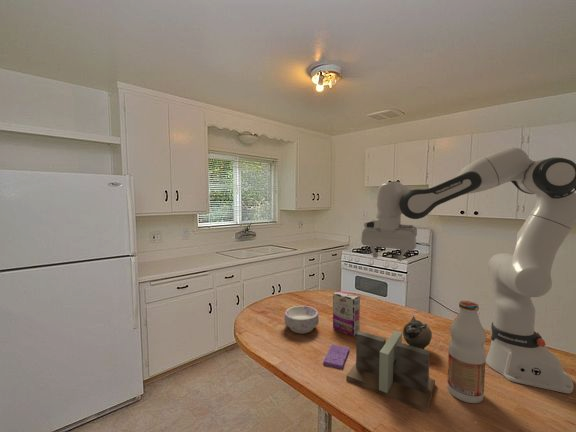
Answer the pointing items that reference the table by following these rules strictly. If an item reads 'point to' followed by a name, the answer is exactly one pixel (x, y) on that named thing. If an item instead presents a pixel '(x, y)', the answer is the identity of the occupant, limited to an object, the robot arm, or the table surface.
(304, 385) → the table surface
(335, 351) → the sponges
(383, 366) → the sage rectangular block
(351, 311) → the candy bar box
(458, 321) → the fruit juice
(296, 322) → the white patterned bowl
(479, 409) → the table surface
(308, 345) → the table surface
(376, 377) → the slotted stand
